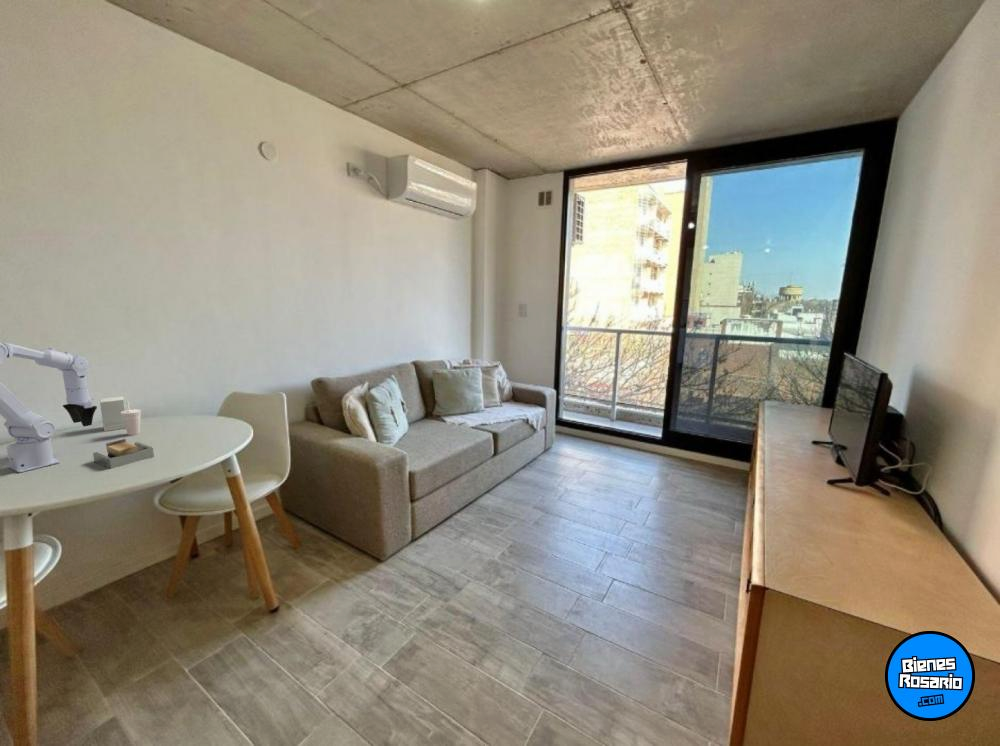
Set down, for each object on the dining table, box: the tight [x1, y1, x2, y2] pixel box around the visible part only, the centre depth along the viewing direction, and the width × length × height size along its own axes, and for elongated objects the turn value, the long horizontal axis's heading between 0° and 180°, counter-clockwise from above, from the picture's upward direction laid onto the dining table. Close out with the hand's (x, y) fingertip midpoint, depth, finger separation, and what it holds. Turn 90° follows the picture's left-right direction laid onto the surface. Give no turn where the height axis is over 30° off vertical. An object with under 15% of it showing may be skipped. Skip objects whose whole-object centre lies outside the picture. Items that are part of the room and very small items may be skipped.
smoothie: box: [121, 400, 142, 436], centre depth 165 cm, size 6×6×14 cm
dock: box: [92, 441, 155, 469], centre depth 142 cm, size 12×11×3 cm
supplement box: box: [99, 396, 126, 432], centre depth 171 cm, size 7×7×13 cm
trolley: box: [105, 438, 138, 458], centre depth 142 cm, size 6×8×6 cm
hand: (82, 423), depth 149 cm, fingers open, 7 cm apart
